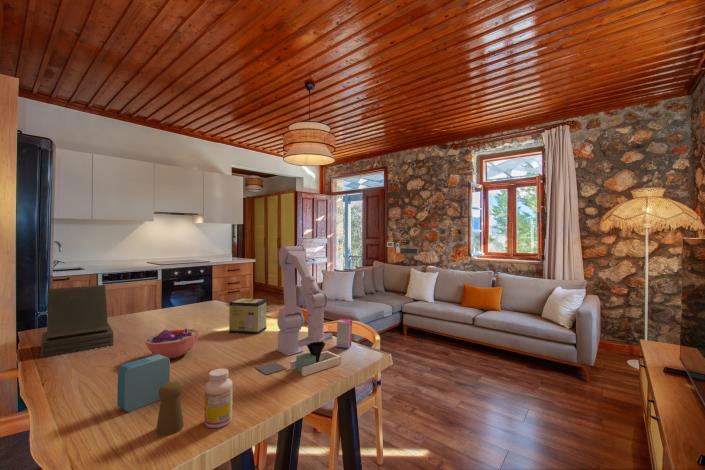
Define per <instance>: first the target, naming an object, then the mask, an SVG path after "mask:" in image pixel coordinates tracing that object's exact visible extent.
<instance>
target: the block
mask: <svg viewBox="0 0 705 470" xmlns="http://www.w3.org/2000/svg"><path fill="white" fill-rule="evenodd" d="M295 360H296V369H295V370H296V371H298V372H300V373H302V367H305V366H308V365H311V364H314V363H316V356H314V355H312V354H310V352H306V353H301V354H299V355H296V359H295Z"/></svg>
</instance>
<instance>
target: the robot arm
mask: <svg viewBox="0 0 705 470" xmlns="http://www.w3.org/2000/svg"><path fill="white" fill-rule="evenodd" d="M278 260H279V267H282V282H283V283H282V286H283V302H284V303H283V304H284V305H283V307H282V308H281V309H280V310H279V311H278V314H277V315H278V316H277V321H276V323H277V328H278V329H279V331H278V333H277V347H276V348H275V351H277V352H279V353H281V354H283V355H284V356H287V357H288V356H291V355H295V354H299V353H302V352H304V349H302V348H303V347H304V346H306V347H307V349H308V352H309V353H310V354H312V355H314V356H316V363H318V362H320V361H319V358H320V355H321V352H323V349H324V348H325V345H326V343H325V341H328V340H332V339H333V333H330V332H328V333H327V332H326V333H324V321H325V320H324V316H325V315H324V313H325V312H324V311H325V307H326V306H327V304H328V298H327V295H326V293H325V291H323V290H322V289H320V287H319V285H318V283H317V281H316V278H315V276H313V275H311V273H310V270H309V267H308V263H307V250H306V248H305V246H304V245H298V246H297V245H296V246H295V245H294V246H293V245H291V246H290V245H288V246H287V245H282V246H281V247H280V249H279V250H278ZM295 269H296V270H297V272H298V275H299V276H300V278H301V279H300V285H301V288H302V290H303V293H304V296H305V300H304V304H305V307H306V313H307V336H306V337H304V338H302V339H300V331H301V330H302V327H304V324H305V318H304V314H303V310H302V308H300V307H299V306H297V303H298V302H297V291H296V290H297V287H296V273H295V272H296V271H295Z"/></svg>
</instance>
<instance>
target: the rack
mask: <svg viewBox="0 0 705 470" xmlns="http://www.w3.org/2000/svg"><path fill="white" fill-rule="evenodd" d="M339 365H342V356H341V355H338V354H336V353H333V352H331V351H329V350H325V351H322V352H321V355H320V358H319V362H318V363H314V364H311V365H308V366H305V367H302V372H301V376H302V377H307V376H309V375H311V374H315V373H318V372H322V371H324V370H327V369H330V368H333V367H336V366H339ZM289 369H290V370H291V371H293V370H296V359H293V360H290V361H289Z"/></svg>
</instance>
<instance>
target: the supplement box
mask: <svg viewBox="0 0 705 470" xmlns="http://www.w3.org/2000/svg"><path fill="white" fill-rule="evenodd" d="M352 332H353V319H348V318H347V319H346V318H339V320H337V321H336V343H335V344H336V345H335V346H336V347H335V348H336V349H343V350H349V349H350V347H352V338H353V337H352V335H353V334H352Z"/></svg>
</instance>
